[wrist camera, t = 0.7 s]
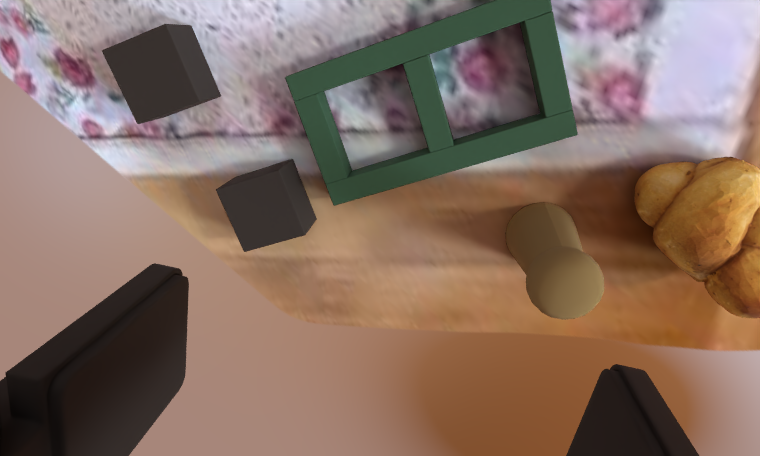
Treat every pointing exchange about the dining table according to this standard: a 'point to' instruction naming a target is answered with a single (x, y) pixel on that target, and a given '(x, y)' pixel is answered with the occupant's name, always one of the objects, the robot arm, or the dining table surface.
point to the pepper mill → (554, 261)
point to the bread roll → (708, 225)
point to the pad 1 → (162, 72)
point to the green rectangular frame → (436, 99)
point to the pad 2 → (267, 205)
